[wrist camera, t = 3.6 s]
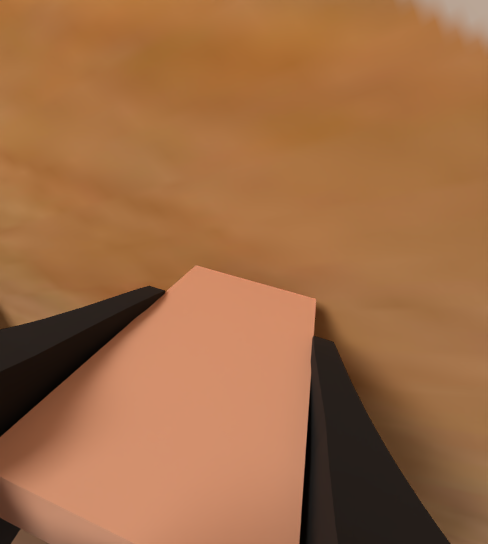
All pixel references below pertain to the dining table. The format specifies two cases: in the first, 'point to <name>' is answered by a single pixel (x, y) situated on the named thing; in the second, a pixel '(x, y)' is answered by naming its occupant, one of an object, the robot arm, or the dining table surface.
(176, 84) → the dining table surface
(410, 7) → the dining table surface
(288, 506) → the terracotta domino
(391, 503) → the robot arm
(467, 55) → the dining table surface
